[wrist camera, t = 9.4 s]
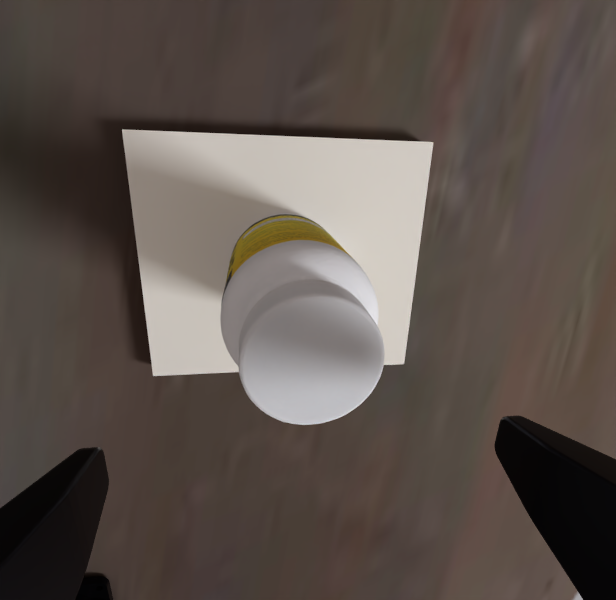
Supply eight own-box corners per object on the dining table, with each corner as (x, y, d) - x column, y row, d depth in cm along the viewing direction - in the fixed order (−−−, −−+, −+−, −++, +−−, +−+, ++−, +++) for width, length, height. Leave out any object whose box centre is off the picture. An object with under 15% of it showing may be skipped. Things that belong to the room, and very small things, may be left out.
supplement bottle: (214, 228, 18) (179, 299, 9) (324, 199, 18) (398, 238, 9) (247, 328, 20) (246, 468, 11) (346, 300, 20) (424, 414, 11)
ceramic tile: (157, 366, 21) (153, 375, 20) (128, 131, 17) (121, 129, 16) (397, 355, 23) (404, 363, 22) (424, 143, 19) (433, 142, 18)
